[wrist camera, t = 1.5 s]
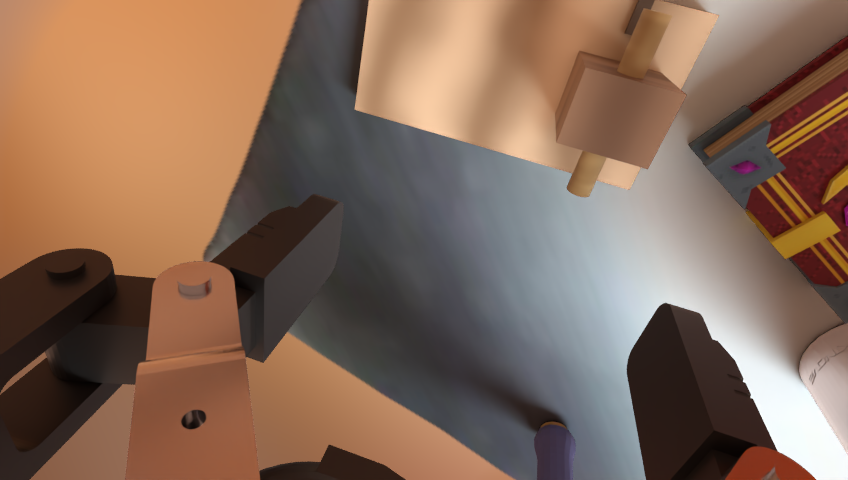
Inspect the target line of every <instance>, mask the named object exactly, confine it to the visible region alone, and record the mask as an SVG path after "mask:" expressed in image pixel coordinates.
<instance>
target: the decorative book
mask: <svg viewBox="0 0 848 480" xmlns="http://www.w3.org/2000/svg"><path fill="white" fill-rule="evenodd" d="M689 147H690V148H691V149H692V150H693V151H694V152H695V154H696V155H697V156H698V157H699V158H700V159H701V160H702V161H703V164H704V165H705V167H706V168H707V169H708V170H709V171H710V172H711V173H712V174H713V175H714V177H715V178H716V179H717V180H718V181H719V182H720V183H721V184H722V185H723V186H724V188H725V189H726V190H727V191H728V192H729V193H730V194H731V195H732V196H733V198H734V199H735V200H736V201H737V202H738V203H739V204H740V205H741V206H742V208H743V209H744V210H745V208H747V209H748V210H749V211H747V212H746V213H747V215H748V216H749V217H750V218H751V220H752V221H753V222H754V223H755V225H756V226H757V227H758V228H759V229H760V231H761V232H762V233H763V234H764V236H765V237H766V238H767V239H768V240H769V242H770V243H771V244H772V245H773V246H774V247H775V249H776V250H777V251H778V252H779V253H780V254H781V255H782V256H783V258H784V259H787V258H789V259H790V260H791V261H792V263H793V264H794V265H795V266H796V267H797V268H798V269H799V270H800V272H801V273H802V274H803V275H804V276H805V277H806V278H807V279H808V280H807V281H808V282H809V283H810V284H811V285H812V286H813V288H814V289H815V290H816V291H817V292H818V293H819V294H820V295H821V297H822V298H823V299H824V300H825V301H826V302H827V303H828V304H829V306H830V307H831V308H832V309H833V310H834V311H835V312H836V314H837V315H838V316H839V317H840V318H841V319H842V320H843V322H844V323H845V324H847V323H848V36H847V37H845V38H844V39H842V40H841V41H840V42H838V43H837V44H835V45H834V46H833V47H831V48H830V49H828V50H827V51H825V52H824V53H823V54H821V55H820V56H818V57H817V58H816V59H814V60H813V61H811V62H810V63H809V64H807V65H806V66H804V67H803V68H802V69H800V70H799V71H797V72H796V73H795V74H793V75H792V76H790V77H789V78H787V79H786V80H785V81H783V82H782V83H780V84H779V85H778V86H776V87H775V88H773V89H772V90H771V91H769V92H768V93H766V94H765V95H764V96H762V97H761V98H759V99H758V100H757V101H755V102H754V103H752V104H751V105H749V106H748V107H746V106H745V105H744V106H743V107H741V108H740V109H738V110H737V111H735V112H734V113H733V114H731V115H730V116H728V117H727V118H726V119H724V120H723V121H721V122H720V123H718V124H717V125H716V126H714V127H713V128H711V129H710V130H709V131H707V132H706V133H704V134H703V135H701V136H700V137H699V138H697V139H696V140H694V141H693V142H692V143H690V144H689Z"/></svg>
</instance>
